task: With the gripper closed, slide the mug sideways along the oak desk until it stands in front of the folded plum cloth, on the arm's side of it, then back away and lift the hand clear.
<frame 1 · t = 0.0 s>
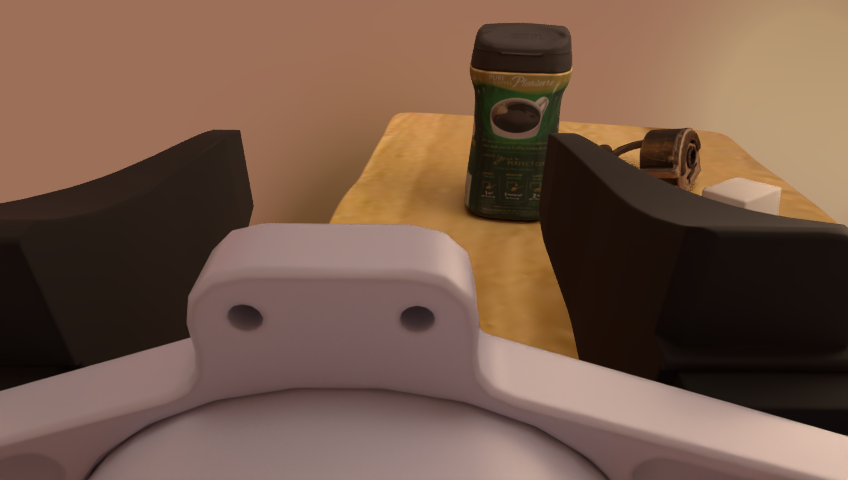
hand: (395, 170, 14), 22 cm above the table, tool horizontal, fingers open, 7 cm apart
coffee jar: (508, 208, 62), on the table
puzzle cube: (742, 318, 43), point 1 cm above the table, touching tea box
dark brown rounded piece: (641, 180, 69), on the table
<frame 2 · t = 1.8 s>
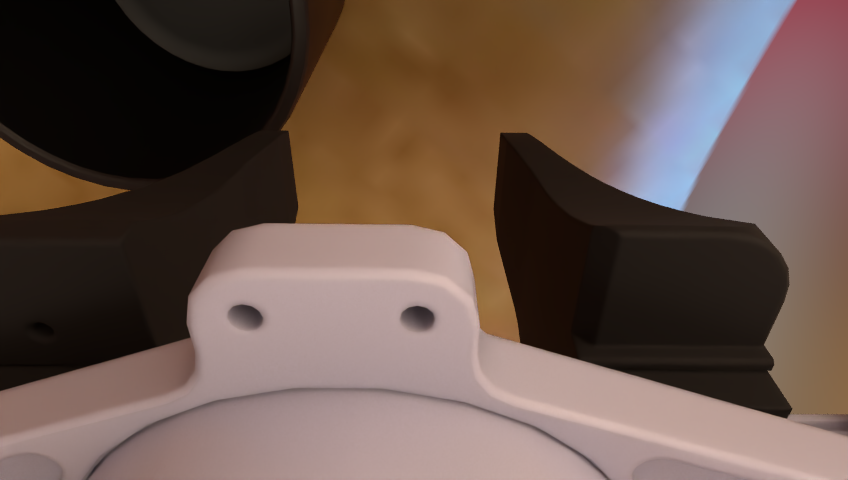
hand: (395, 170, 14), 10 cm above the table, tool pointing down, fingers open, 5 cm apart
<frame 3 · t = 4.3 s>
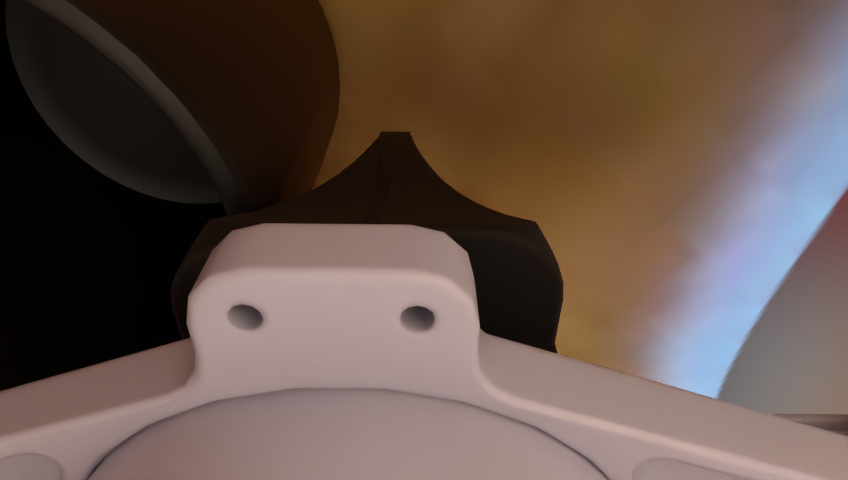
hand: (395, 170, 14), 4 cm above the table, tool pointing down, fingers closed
mug: (176, 107, 17), on the table, touching gripper
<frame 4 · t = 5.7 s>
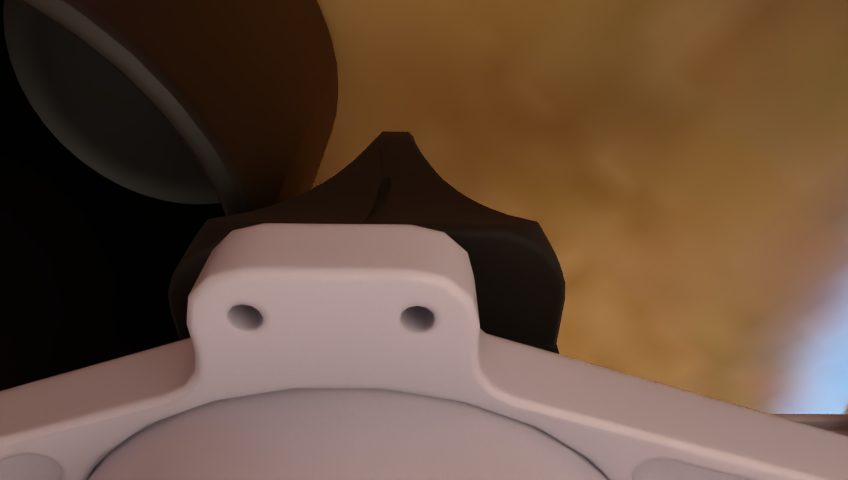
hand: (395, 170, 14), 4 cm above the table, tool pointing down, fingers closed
mug: (174, 107, 17), on the table, touching gripper
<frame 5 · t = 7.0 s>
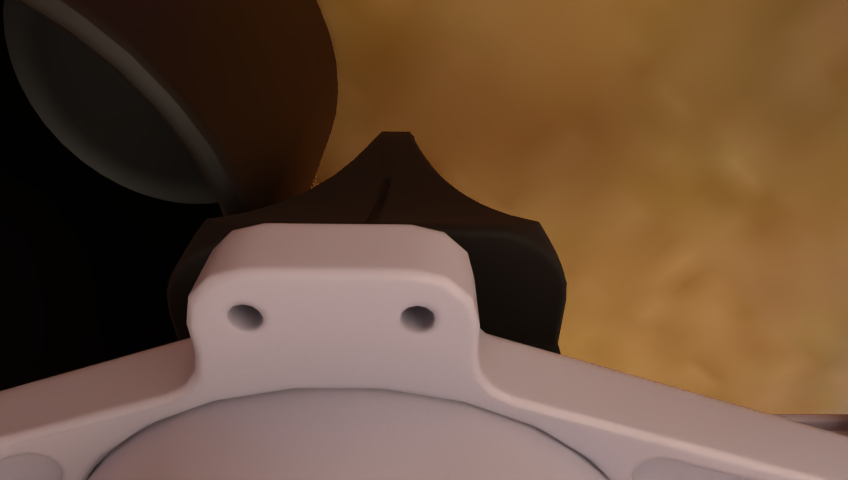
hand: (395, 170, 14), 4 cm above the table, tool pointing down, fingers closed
mug: (174, 107, 17), on the table, touching gripper
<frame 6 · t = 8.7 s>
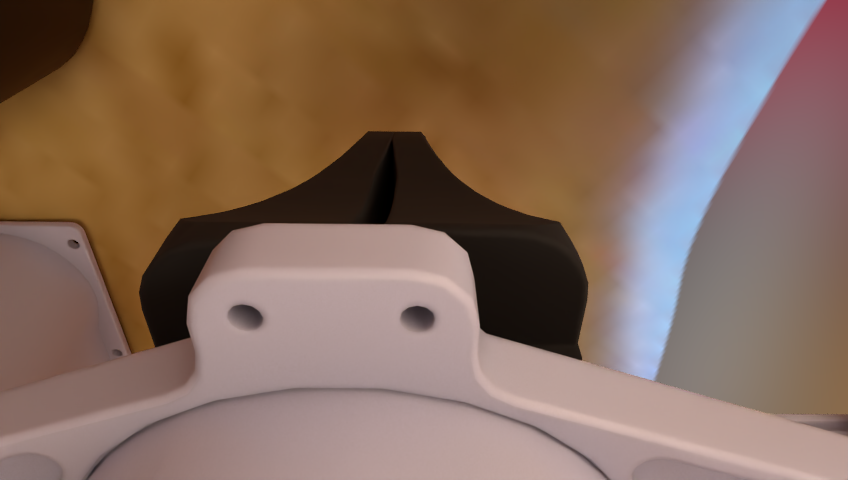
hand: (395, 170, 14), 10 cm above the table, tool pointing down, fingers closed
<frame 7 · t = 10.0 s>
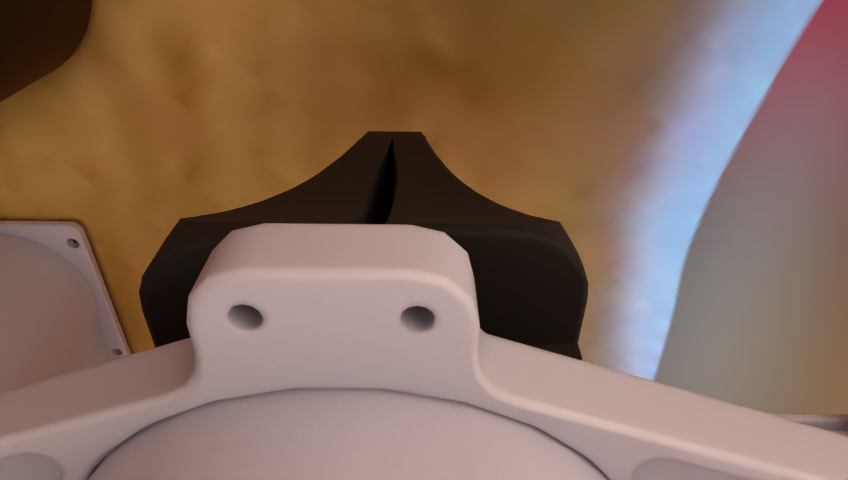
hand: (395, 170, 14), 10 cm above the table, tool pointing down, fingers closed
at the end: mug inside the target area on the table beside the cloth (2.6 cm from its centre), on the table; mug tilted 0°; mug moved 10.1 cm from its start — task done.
